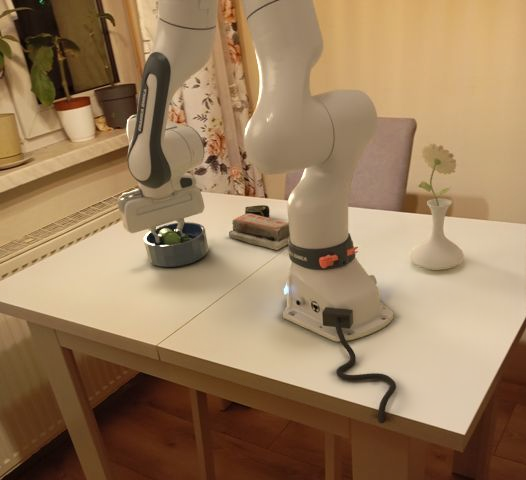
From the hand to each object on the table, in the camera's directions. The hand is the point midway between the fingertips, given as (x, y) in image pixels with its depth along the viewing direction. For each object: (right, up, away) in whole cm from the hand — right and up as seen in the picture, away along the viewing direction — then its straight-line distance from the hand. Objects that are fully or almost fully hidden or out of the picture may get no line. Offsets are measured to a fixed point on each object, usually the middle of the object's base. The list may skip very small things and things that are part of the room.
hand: (169, 239), depth 141 cm
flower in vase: (+61, -8, -16) cm, 63 cm away
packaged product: (+24, +2, +7) cm, 25 cm away
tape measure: (+21, +9, +19) cm, 30 cm away
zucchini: (+3, -2, +4) cm, 5 cm away
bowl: (+2, -4, +3) cm, 5 cm away
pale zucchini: (0, -1, +1) cm, 2 cm away
